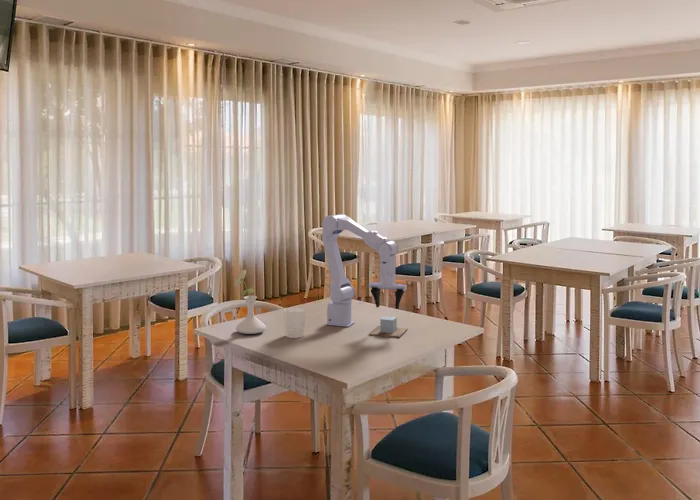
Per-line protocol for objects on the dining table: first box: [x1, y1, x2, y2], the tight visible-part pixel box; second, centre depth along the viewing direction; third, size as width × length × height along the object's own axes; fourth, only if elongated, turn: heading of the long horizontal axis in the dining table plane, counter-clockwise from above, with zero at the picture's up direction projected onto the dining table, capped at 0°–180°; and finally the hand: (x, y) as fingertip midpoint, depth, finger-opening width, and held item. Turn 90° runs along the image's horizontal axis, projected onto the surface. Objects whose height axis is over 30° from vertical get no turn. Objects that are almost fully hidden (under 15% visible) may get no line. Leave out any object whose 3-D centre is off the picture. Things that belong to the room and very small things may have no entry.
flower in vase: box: [233, 269, 267, 335], centre depth 240 cm, size 13×11×25 cm
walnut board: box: [368, 325, 409, 339], centre depth 242 cm, size 12×12×1 cm
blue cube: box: [379, 315, 398, 333], centre depth 242 cm, size 5×5×5 cm
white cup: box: [283, 307, 306, 339], centre depth 237 cm, size 8×8×10 cm
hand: (387, 307), depth 242 cm, fingers open, 7 cm apart
